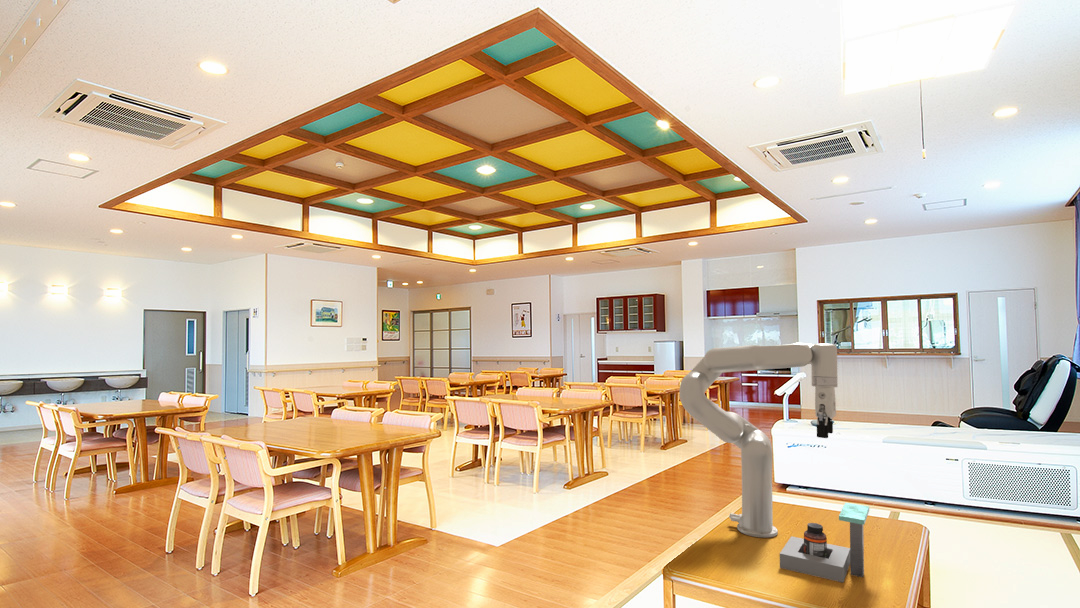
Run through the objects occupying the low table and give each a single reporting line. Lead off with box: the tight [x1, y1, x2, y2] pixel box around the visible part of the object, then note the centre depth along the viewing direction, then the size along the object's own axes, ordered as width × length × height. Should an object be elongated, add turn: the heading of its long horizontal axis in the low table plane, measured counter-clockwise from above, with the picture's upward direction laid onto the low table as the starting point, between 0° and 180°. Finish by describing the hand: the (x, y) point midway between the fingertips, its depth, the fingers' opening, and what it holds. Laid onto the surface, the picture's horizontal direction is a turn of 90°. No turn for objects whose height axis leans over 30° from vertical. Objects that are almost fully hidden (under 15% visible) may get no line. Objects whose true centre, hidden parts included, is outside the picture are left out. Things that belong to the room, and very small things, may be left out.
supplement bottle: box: [803, 522, 828, 558], centre depth 164 cm, size 6×6×11 cm
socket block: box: [779, 536, 850, 583], centre depth 164 cm, size 16×16×4 cm
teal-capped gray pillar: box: [838, 502, 870, 578], centre depth 158 cm, size 6×14×17 cm, turn 145°
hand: (824, 435), depth 184 cm, fingers open, 9 cm apart
